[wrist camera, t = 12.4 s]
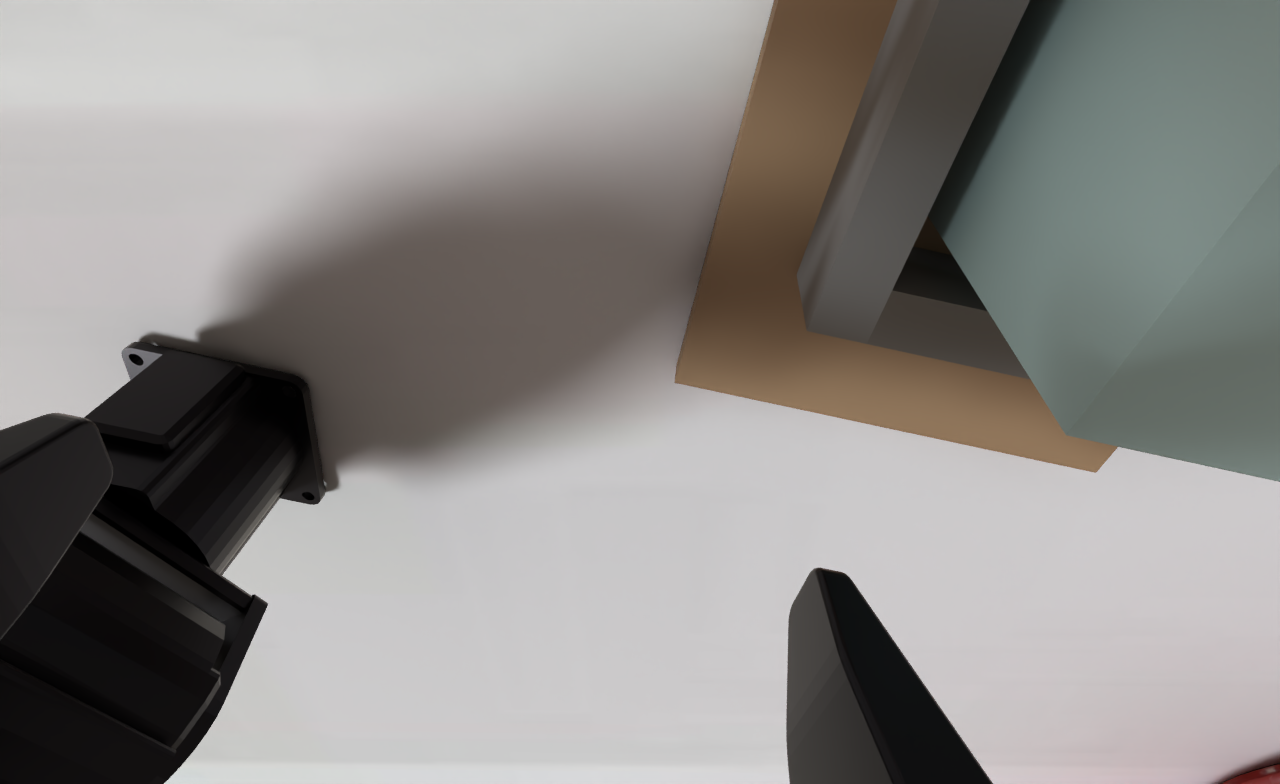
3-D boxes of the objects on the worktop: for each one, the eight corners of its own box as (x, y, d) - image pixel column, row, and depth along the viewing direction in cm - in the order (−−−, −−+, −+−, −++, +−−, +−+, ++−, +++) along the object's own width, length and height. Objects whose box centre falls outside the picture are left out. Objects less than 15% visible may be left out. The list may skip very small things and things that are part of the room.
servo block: (1072, 241, 17) (1365, 532, 9) (922, 207, 17) (1089, 473, 9) (1245, -30, 13) (1971, 72, 6) (1054, -75, 13) (1524, -37, 5)
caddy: (1082, 452, 22) (1142, 544, 19) (676, 364, 22) (667, 444, 19) (1854, -493, 10) (2375, -674, 7) (968, -722, 10) (1085, -1026, 6)
